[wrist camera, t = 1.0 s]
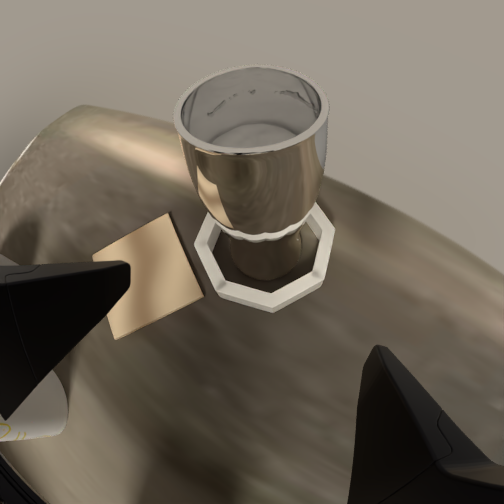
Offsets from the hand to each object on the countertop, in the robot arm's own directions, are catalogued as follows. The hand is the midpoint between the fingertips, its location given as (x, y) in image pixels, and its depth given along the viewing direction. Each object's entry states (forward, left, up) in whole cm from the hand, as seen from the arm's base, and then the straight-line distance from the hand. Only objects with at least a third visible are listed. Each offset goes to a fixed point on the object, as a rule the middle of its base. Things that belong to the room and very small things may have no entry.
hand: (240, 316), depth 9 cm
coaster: (-7, +10, -13) cm, 18 cm away
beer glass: (+4, +7, -13) cm, 16 cm away
